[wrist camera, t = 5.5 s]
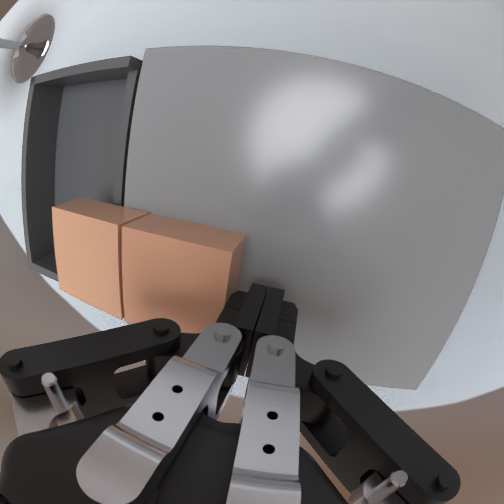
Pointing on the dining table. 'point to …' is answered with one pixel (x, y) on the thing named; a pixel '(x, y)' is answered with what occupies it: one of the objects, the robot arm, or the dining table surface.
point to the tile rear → (92, 251)
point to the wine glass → (30, 47)
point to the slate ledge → (325, 193)
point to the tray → (74, 145)
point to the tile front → (178, 271)
